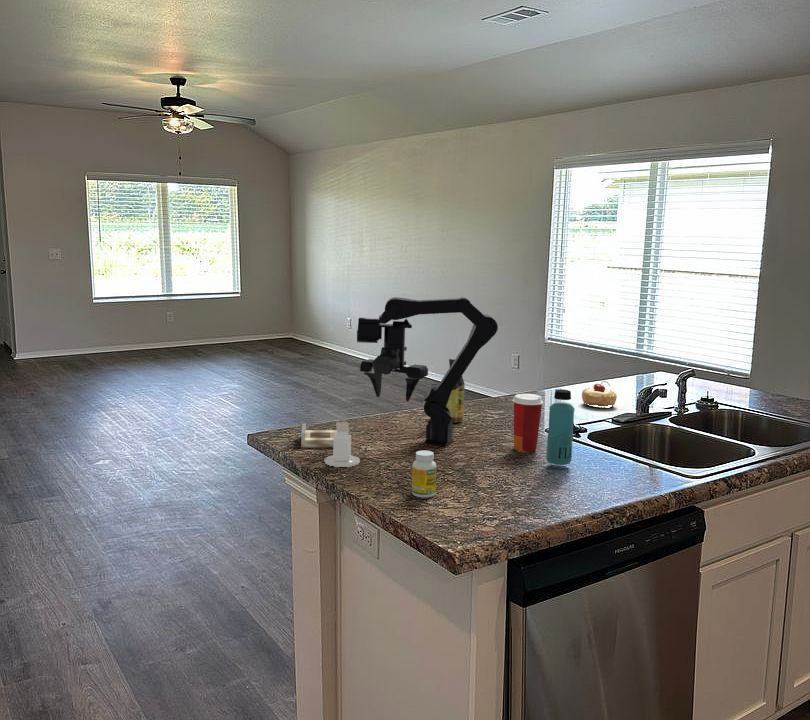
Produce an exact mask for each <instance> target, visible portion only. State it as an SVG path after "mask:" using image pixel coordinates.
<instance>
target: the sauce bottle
mask: <svg viewBox="0 0 810 720" xmlns="http://www.w3.org/2000/svg"><path fill="white" fill-rule="evenodd" d="M456 358H457V357H450V358H449V359H448V365H449V368H450V367H451V365H452V364H453V362H454V361H455V359H456ZM465 387H466V383H465V380H464V378H463V375H462V376H461V378H460V379H459V381H458V382H457V384H456V385H455V387H454V388H453V390H452V392H451V394H450V397H449V400H448V403H447V405H446V407H447V408H448V409H449V410H450V413H451V417H452V419H451V421H452V424H456V423H457V424H458V423H462V422H463V419H464V418H463V417H464V408H465V407H464V404H465V389H466V388H465Z"/></svg>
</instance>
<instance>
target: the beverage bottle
mask: <svg viewBox="0 0 810 720" xmlns="http://www.w3.org/2000/svg"><path fill="white" fill-rule="evenodd" d="M571 392H572V391H571V390H568V389H563V388H562V389H555V391H554V395H553V396H554V397H553V399H555V400H561V401H555V402H553V403H552V404H550V406H549V407H548V408H549V412H548V413H549V414H548V430H547V432H548V433H547V440H546V449H545V450H546V453H545V455H546V456H545V457H546V459H545V460H546V461H547V463H549V464H551V465H559V466H565V465H566V466H568V465H569V464H571V461H572V454H573V446H574V445H573V440H574V439H573V436H574V435H573V434H574V425H575V423H574V422H575V421H574V420H575V417H574V416H575V408H574V406H573V404H571V403H570V402H567V401H569V400H571V399H572V397H571V396H572V393H571ZM565 401H566V402H565Z"/></svg>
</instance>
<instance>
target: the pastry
mask: <svg viewBox="0 0 810 720" xmlns="http://www.w3.org/2000/svg"><path fill="white" fill-rule="evenodd" d="M603 383H607V385H608V386H609V387H611V385H610V383H609V382H608V381H606V380H603V381H602V382H601V383H595V384H593V387H591V388H590V387H589V388H584V389H583V390H582V391H581V399H582V402H583V403H586V404H589V405H598V406H608V405H614V406H615V404H616V402H617V397H618V396H617V393H616V392H615V391H612V390H611V389H610V390H608V388H607V389H606V387H605V386H604V385H602V384H603Z"/></svg>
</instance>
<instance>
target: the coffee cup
mask: <svg viewBox="0 0 810 720" xmlns="http://www.w3.org/2000/svg"><path fill="white" fill-rule="evenodd" d="M511 401H512V402H513V449H515V450H517V451H516V452H518V451H520V452H519V453H522V452H533V453H535V452H536V451H537V447H538V446H537V445H538V438H539V431H540V423H541V416H542V406H543V404H544V401H543V398H542V396H541V395H538V394H535V393H534V394H531V393H518V394H515V396H513V399H512V400H511ZM515 450H514V451H515ZM534 451H535V452H534Z"/></svg>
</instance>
